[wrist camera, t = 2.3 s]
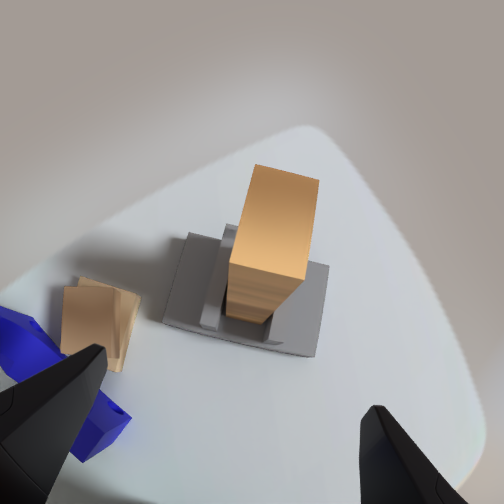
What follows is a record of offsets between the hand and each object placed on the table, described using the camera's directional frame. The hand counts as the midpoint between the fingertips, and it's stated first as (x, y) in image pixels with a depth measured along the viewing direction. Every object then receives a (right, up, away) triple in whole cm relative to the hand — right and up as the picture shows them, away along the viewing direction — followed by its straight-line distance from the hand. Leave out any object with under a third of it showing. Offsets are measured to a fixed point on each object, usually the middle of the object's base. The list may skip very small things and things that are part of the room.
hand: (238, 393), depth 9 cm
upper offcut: (-11, -1, +11) cm, 16 cm away
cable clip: (-15, -6, +11) cm, 19 cm away
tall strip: (0, +1, +13) cm, 13 cm away
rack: (0, +1, +14) cm, 14 cm away
